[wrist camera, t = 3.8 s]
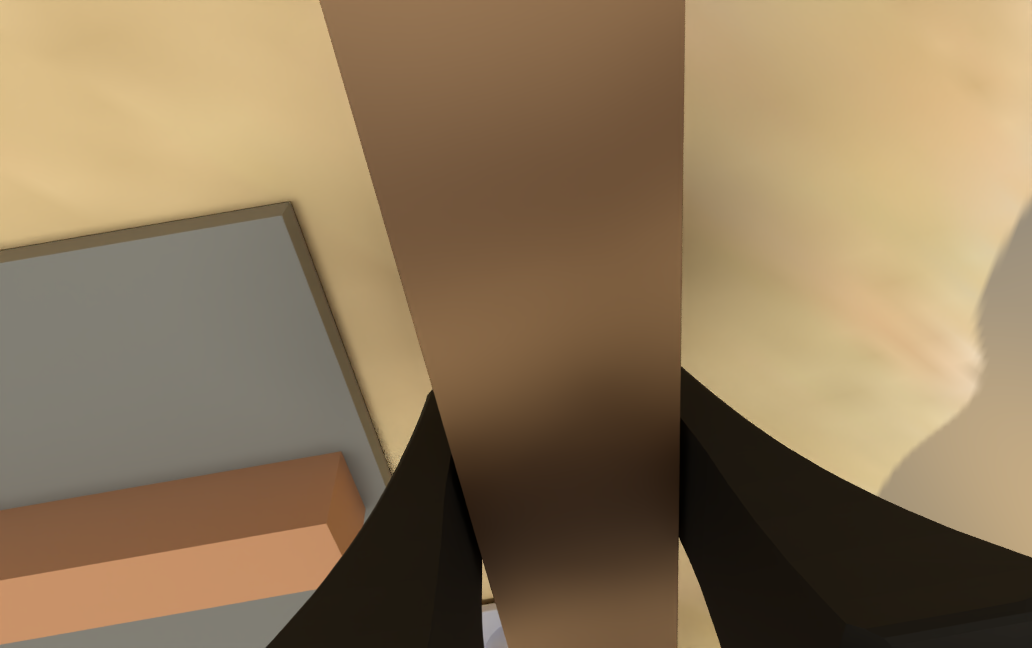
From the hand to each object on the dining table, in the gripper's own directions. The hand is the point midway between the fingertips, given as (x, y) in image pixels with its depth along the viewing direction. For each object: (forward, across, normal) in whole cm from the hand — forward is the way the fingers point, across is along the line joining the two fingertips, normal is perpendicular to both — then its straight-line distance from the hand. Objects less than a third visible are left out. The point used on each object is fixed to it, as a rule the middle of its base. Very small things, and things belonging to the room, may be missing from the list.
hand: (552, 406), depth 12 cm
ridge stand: (+7, +17, +7) cm, 20 cm away
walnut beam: (+2, 0, 0) cm, 2 cm away
